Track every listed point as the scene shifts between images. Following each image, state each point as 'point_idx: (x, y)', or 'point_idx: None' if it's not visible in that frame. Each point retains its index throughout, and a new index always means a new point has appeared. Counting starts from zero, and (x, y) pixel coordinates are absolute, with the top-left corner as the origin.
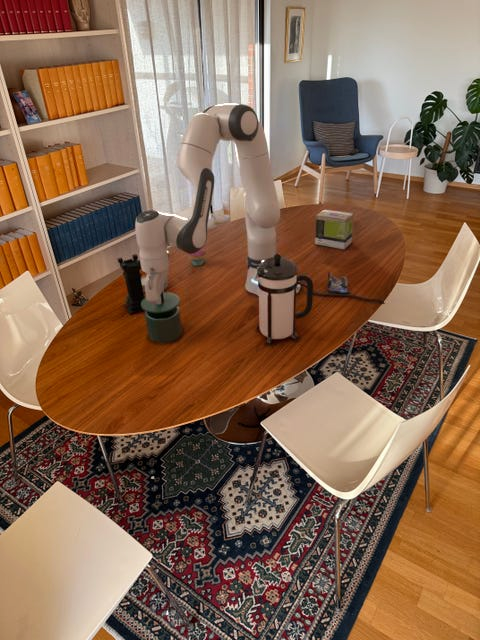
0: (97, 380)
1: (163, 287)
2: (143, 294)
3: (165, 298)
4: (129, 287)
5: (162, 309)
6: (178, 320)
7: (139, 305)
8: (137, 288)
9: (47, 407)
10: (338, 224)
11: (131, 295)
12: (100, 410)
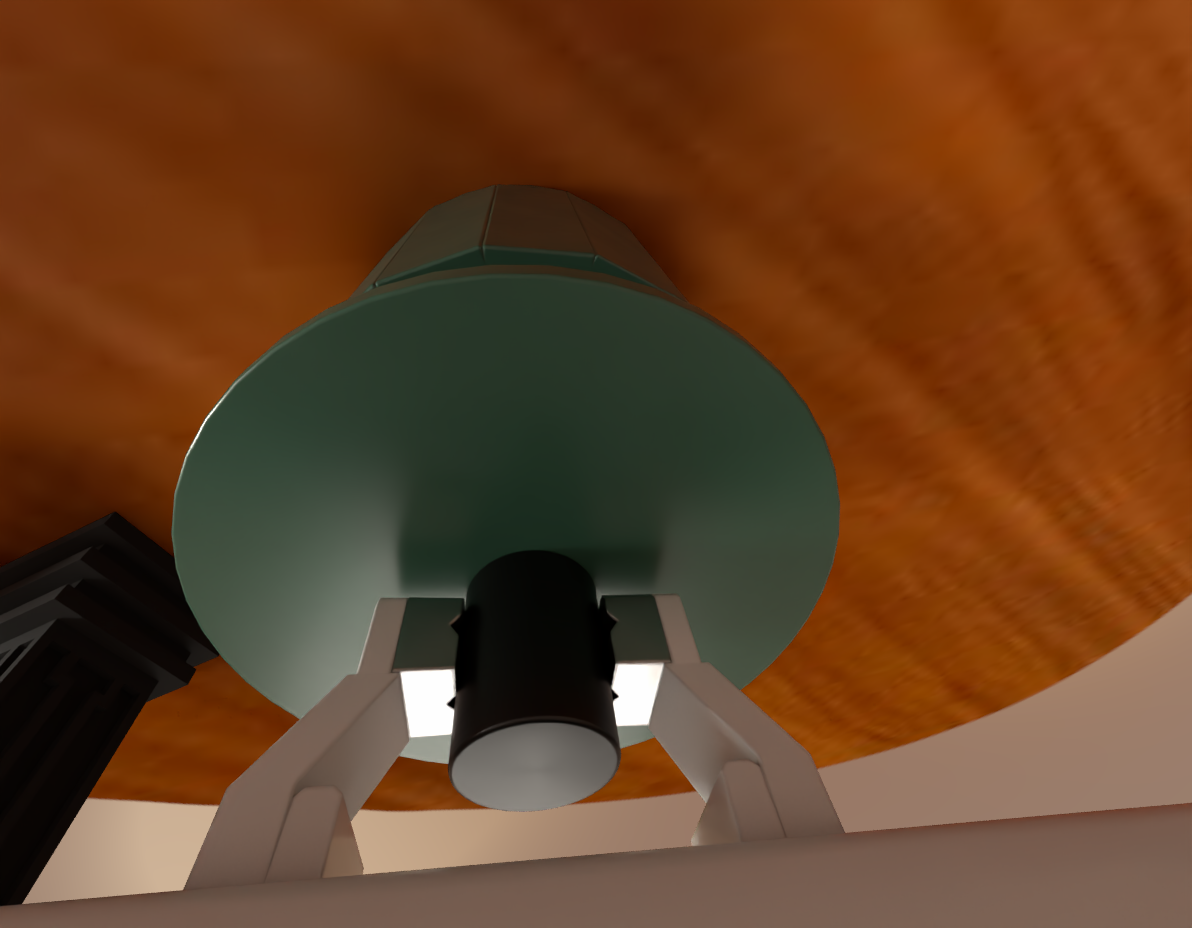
0: (913, 618)
1: (314, 767)
2: (20, 663)
3: (418, 545)
4: (59, 842)
5: (790, 534)
6: (604, 238)
7: (150, 615)
8: (6, 771)
9: (993, 712)
10: None
11: (115, 743)
12: (1137, 560)
